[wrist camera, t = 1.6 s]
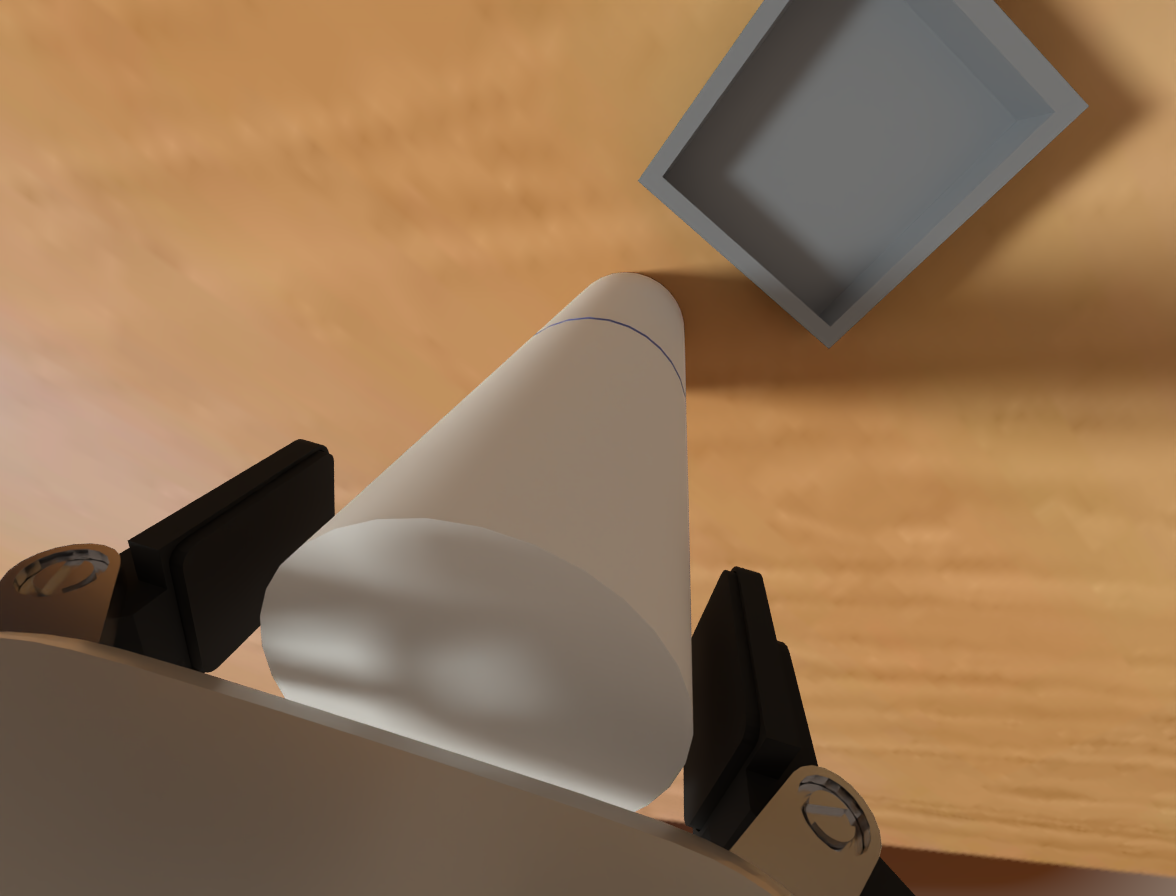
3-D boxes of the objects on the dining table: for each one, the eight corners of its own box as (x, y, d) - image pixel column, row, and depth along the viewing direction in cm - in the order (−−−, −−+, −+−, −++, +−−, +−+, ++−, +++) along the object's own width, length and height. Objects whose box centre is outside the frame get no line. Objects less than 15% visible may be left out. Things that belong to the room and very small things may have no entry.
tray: (836, -91, 20) (864, -143, 17) (1032, 119, 22) (1088, 105, 19) (643, 183, 26) (637, 180, 23) (812, 332, 28) (828, 348, 25)
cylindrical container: (709, 334, 29) (798, 749, 7) (624, 410, 32) (501, 864, 10) (625, 244, 28) (405, 411, 6) (544, 333, 31) (199, 665, 9)
